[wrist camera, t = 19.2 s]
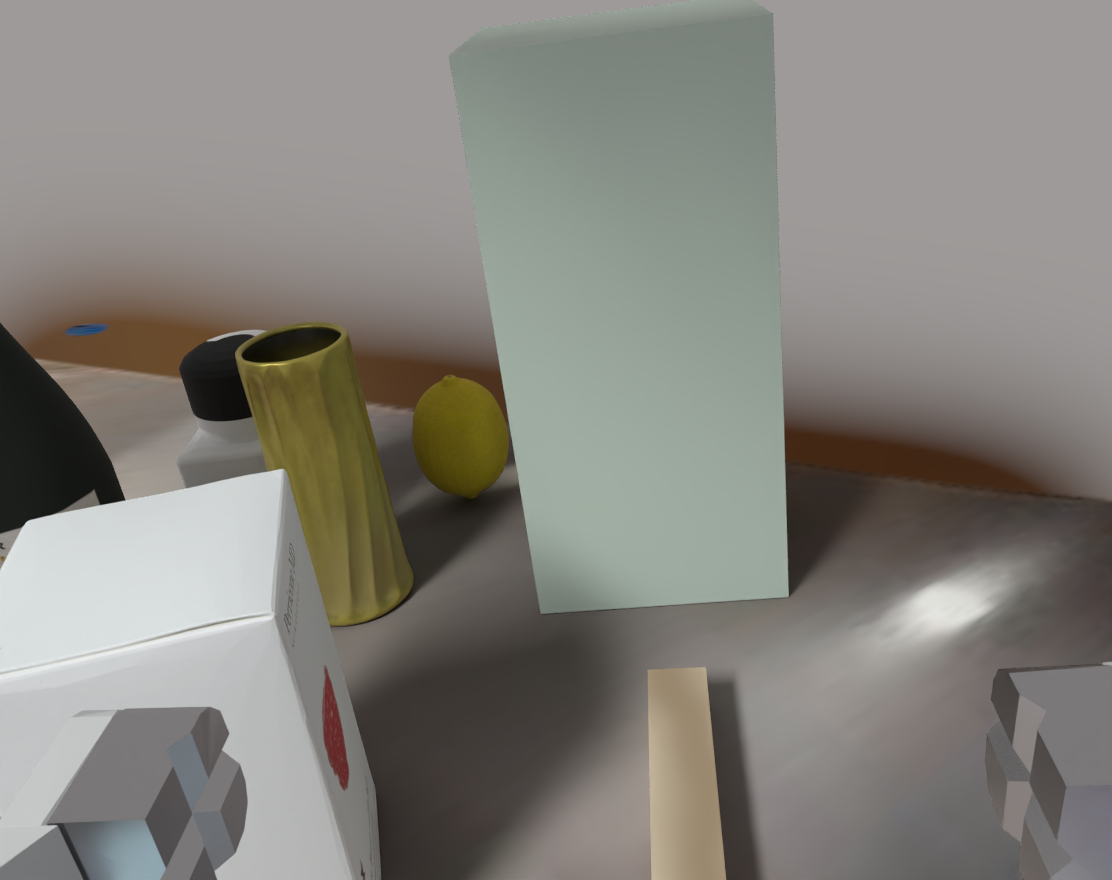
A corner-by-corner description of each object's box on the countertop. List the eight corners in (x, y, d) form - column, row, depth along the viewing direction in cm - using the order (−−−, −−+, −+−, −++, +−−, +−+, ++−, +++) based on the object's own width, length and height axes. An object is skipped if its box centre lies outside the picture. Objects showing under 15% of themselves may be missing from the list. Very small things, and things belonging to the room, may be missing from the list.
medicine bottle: (334, 556, 57) (282, 360, 52) (210, 570, 57) (145, 377, 52) (354, 492, 63) (310, 312, 58) (243, 506, 64) (188, 327, 58)
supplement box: (393, 982, 33) (280, 613, 26) (112, 1058, 32) (-82, 693, 25) (381, 782, 41) (291, 459, 34) (155, 837, 40) (17, 515, 33)
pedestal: (540, 613, 50) (448, 55, 38) (552, 507, 59) (481, 28, 47) (788, 597, 49) (772, 13, 37) (762, 491, 57) (743, -6, 46)
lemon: (472, 531, 58) (447, 404, 54) (407, 506, 61) (380, 386, 57) (536, 488, 61) (517, 366, 57) (472, 467, 65) (450, 350, 61)
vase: (279, 627, 52) (200, 371, 45) (325, 559, 57) (260, 320, 50) (392, 629, 50) (327, 365, 44) (428, 558, 56) (375, 314, 49)
